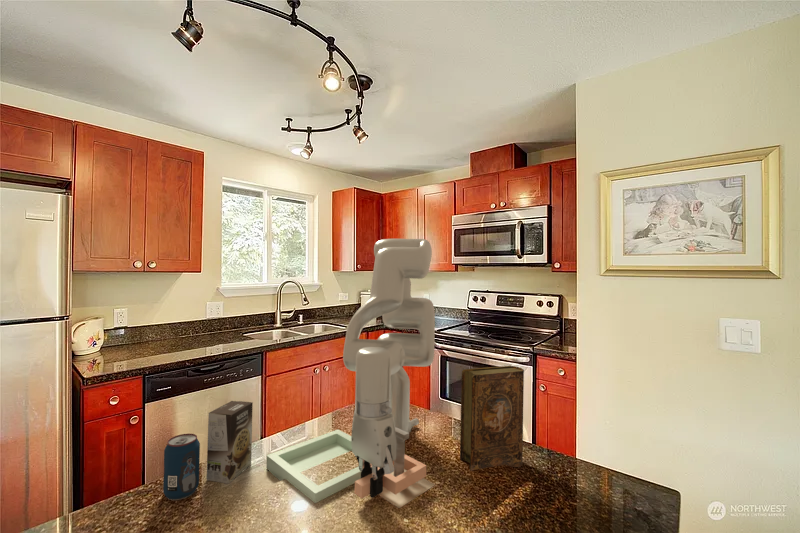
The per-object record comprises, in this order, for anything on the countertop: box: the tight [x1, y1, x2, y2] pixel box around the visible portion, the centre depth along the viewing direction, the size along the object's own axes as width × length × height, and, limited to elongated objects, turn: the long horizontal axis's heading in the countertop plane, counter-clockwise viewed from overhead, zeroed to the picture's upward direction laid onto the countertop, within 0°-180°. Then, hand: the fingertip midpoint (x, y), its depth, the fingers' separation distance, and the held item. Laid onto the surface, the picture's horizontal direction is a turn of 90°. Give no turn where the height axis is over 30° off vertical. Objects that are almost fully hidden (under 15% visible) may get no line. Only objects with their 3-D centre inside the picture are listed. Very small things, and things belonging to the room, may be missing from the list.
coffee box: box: [206, 400, 254, 484], centre depth 92 cm, size 9×6×16 cm
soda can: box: [162, 433, 201, 501], centre depth 83 cm, size 7×7×12 cm
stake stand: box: [377, 427, 436, 509], centre depth 85 cm, size 12×12×14 cm
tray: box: [265, 429, 362, 504], centre depth 93 cm, size 22×22×4 cm
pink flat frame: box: [354, 454, 427, 499], centre depth 82 cm, size 16×10×2 cm, turn 136°
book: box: [459, 365, 525, 471], centre depth 97 cm, size 16×6×25 cm, turn 109°
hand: (371, 490), depth 79 cm, fingers closed on pink flat frame, 2 cm apart
